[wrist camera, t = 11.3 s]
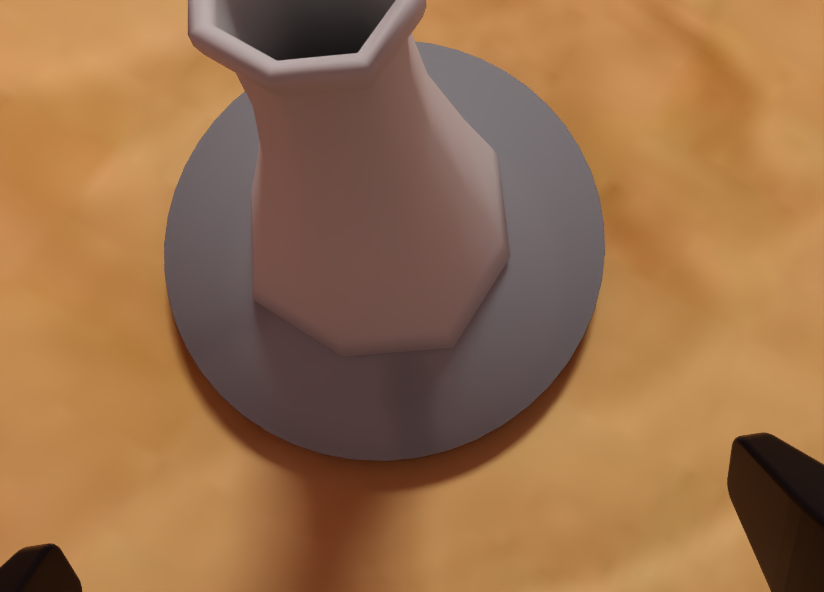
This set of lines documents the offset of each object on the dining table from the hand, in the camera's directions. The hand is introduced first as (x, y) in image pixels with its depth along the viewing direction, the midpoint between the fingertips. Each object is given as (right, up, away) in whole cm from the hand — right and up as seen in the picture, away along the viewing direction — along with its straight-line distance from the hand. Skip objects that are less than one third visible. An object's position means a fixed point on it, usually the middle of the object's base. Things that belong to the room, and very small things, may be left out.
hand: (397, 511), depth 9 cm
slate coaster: (-1, +4, +10) cm, 11 cm away
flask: (-1, +5, +10) cm, 11 cm away
